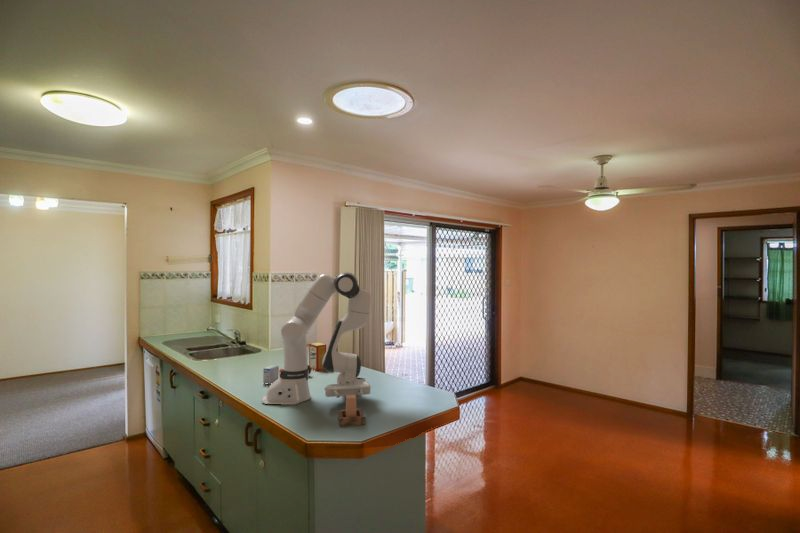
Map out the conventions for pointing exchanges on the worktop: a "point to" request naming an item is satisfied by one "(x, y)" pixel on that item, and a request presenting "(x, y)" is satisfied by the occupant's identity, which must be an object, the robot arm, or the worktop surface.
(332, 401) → the worktop surface
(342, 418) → the walnut well
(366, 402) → the worktop surface
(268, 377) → the medicine box
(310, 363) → the baking soda box
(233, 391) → the worktop surface
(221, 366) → the worktop surface
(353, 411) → the salmon orange rectangular block
